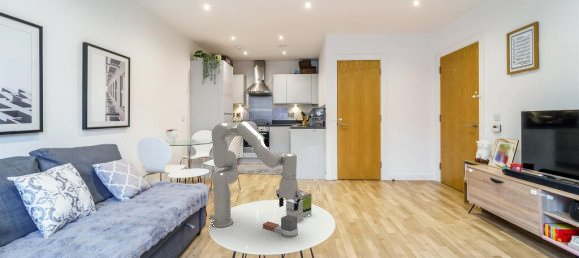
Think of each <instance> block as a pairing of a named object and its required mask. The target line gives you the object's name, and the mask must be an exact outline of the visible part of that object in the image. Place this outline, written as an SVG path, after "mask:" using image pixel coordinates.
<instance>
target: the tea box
mask: <svg viewBox="0 0 579 258" xmlns="http://www.w3.org/2000/svg"><path fill="white" fill-rule="evenodd" d="M298 192H299V193H300V194H302V195H303V198H302V200H303V217H305V216H308V215H311V216H312V193H311V192H308V191H305V190H302V189H299V188H298ZM298 199H299V196H298ZM287 200H289V199H286V198H285V202H286V203H285V212H286V211H287ZM308 217H309V216H308ZM305 218H306V217H305Z"/></svg>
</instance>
